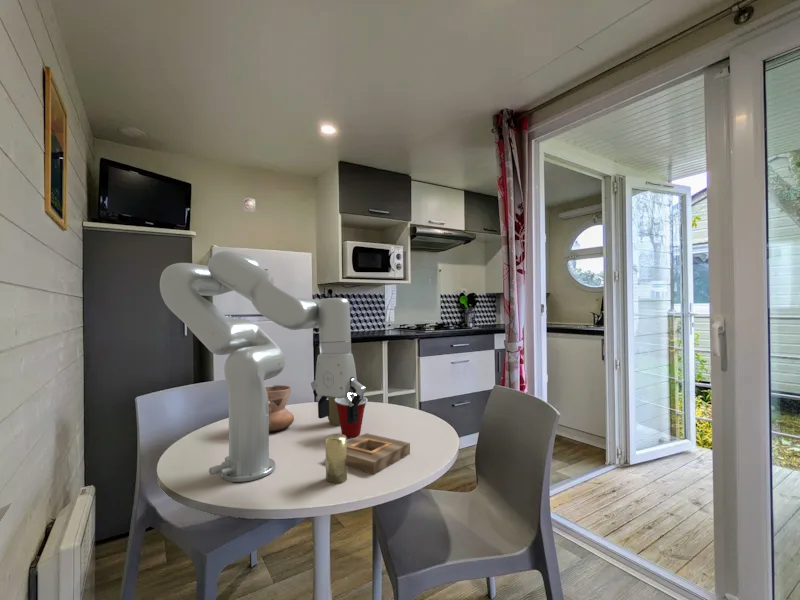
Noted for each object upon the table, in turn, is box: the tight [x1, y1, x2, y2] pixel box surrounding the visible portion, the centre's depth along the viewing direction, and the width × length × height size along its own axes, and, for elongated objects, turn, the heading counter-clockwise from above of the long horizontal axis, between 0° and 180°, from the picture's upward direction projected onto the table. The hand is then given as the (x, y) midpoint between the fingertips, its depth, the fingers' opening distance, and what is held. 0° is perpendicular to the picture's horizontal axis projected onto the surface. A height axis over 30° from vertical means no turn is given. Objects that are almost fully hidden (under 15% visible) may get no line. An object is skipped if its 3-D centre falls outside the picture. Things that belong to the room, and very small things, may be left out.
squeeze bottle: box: [327, 397, 340, 426], centre depth 135 cm, size 8×8×18 cm
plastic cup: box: [335, 396, 369, 439], centre depth 122 cm, size 11×11×12 cm
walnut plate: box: [346, 432, 411, 475], centre depth 103 cm, size 16×16×3 cm
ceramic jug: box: [265, 384, 295, 433], centre depth 131 cm, size 18×14×14 cm
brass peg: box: [324, 433, 348, 485], centre depth 90 cm, size 5×5×10 cm
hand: (338, 419), depth 90 cm, fingers open, 9 cm apart
